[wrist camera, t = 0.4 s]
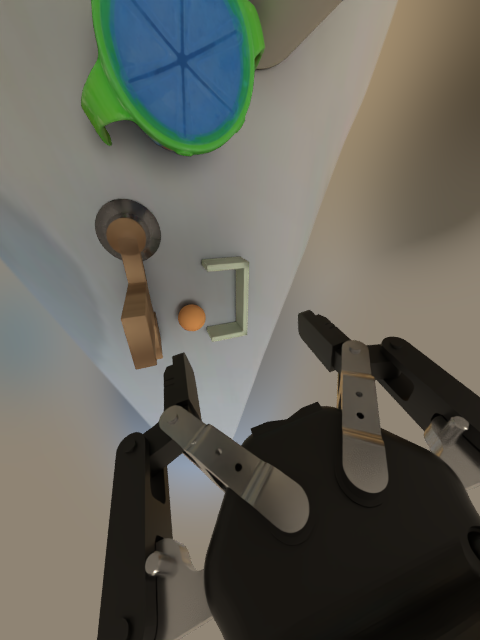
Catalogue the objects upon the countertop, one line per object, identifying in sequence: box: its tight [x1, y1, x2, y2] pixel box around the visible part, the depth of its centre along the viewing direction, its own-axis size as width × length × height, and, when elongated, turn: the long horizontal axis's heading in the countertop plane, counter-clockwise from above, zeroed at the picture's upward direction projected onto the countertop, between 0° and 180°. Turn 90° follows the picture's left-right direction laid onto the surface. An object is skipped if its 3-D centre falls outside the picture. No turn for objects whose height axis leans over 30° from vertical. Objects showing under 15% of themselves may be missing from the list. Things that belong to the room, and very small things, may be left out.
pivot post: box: [95, 199, 161, 261], centre depth 25 cm, size 7×7×3 cm
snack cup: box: [81, 0, 265, 156], centre depth 19 cm, size 16×10×10 cm
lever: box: [106, 217, 163, 369], centre depth 24 cm, size 18×4×14 cm, turn 179°
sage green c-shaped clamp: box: [202, 257, 249, 342], centre depth 33 cm, size 12×6×4 cm, turn 179°
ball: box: [178, 304, 206, 331], centre depth 32 cm, size 4×4×4 cm
